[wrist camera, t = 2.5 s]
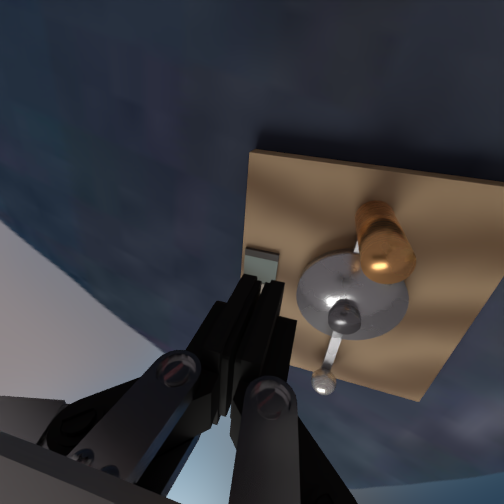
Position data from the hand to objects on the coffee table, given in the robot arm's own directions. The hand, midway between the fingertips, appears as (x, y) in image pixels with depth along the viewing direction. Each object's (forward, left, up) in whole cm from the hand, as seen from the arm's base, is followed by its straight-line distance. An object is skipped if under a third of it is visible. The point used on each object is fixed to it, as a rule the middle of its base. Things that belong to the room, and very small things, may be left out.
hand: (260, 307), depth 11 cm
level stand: (+6, +5, -12) cm, 14 cm away
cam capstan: (+7, +5, -10) cm, 13 cm away
